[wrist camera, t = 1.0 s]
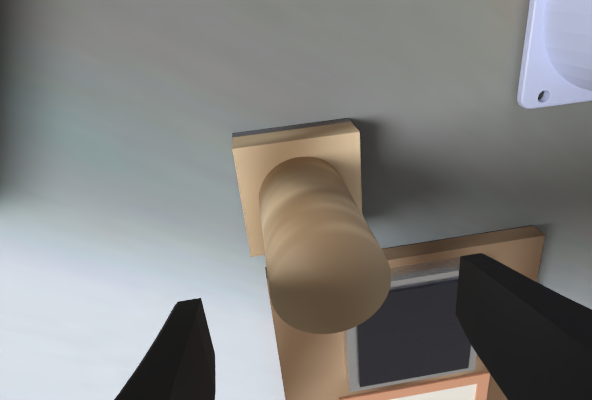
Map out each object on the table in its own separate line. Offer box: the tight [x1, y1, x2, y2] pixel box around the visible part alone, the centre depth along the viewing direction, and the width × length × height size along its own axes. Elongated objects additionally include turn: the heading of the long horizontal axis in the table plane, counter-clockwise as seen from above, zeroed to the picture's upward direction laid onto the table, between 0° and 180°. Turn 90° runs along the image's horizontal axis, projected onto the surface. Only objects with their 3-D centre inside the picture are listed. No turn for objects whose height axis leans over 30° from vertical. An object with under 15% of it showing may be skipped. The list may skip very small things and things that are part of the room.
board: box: [265, 226, 545, 400], centre depth 26 cm, size 14×18×1 cm
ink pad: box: [343, 257, 477, 392], centre depth 23 cm, size 7×7×1 cm
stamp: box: [232, 118, 391, 334], centre depth 16 cm, size 5×5×8 cm
